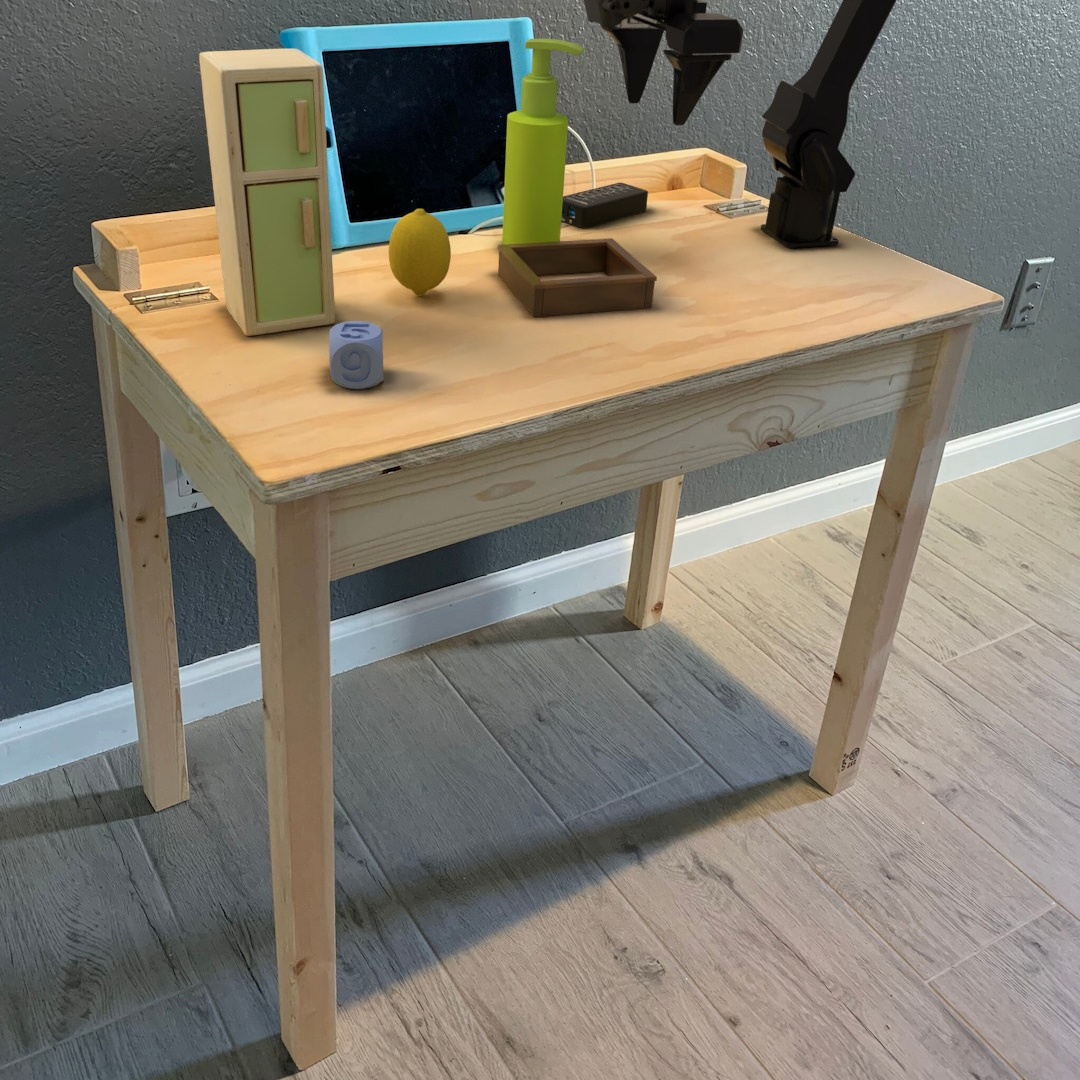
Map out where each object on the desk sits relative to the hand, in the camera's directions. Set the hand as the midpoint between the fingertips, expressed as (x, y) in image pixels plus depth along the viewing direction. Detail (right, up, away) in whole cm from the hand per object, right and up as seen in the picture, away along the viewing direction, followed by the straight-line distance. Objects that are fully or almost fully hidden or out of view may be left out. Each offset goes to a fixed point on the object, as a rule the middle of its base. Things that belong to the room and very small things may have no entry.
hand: (655, 113), depth 114 cm
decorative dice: (-26, -30, -25) cm, 47 cm away
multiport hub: (-5, -6, +14) cm, 16 cm away
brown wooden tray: (-8, -19, -6) cm, 22 cm away
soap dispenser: (-12, -13, +3) cm, 18 cm away
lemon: (-23, -21, -10) cm, 32 cm away
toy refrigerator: (-34, -24, -16) cm, 44 cm away
